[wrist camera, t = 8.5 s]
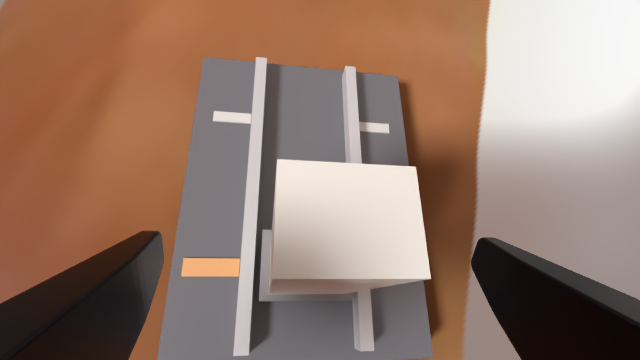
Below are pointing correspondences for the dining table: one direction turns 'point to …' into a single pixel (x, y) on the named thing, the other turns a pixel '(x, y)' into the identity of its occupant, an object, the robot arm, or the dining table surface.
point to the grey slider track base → (257, 215)
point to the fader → (342, 231)
